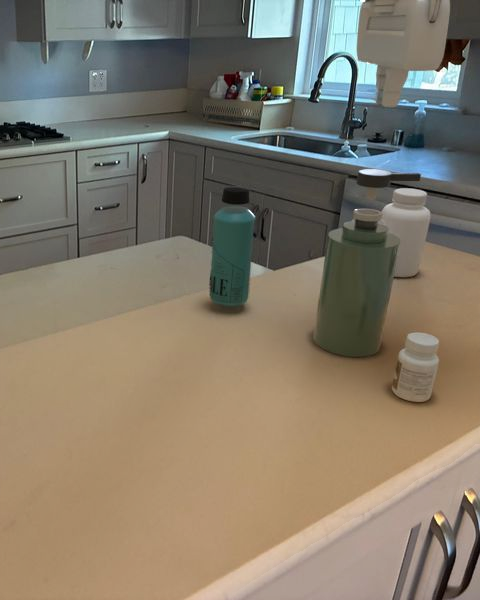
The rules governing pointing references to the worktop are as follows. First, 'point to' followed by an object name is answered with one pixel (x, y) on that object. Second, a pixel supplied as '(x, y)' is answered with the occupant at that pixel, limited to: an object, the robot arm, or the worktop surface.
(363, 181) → the pump head
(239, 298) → the beverage bottle
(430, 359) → the pill bottle
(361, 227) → the dispenser
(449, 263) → the worktop surface
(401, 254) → the pill bottle
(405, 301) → the worktop surface
